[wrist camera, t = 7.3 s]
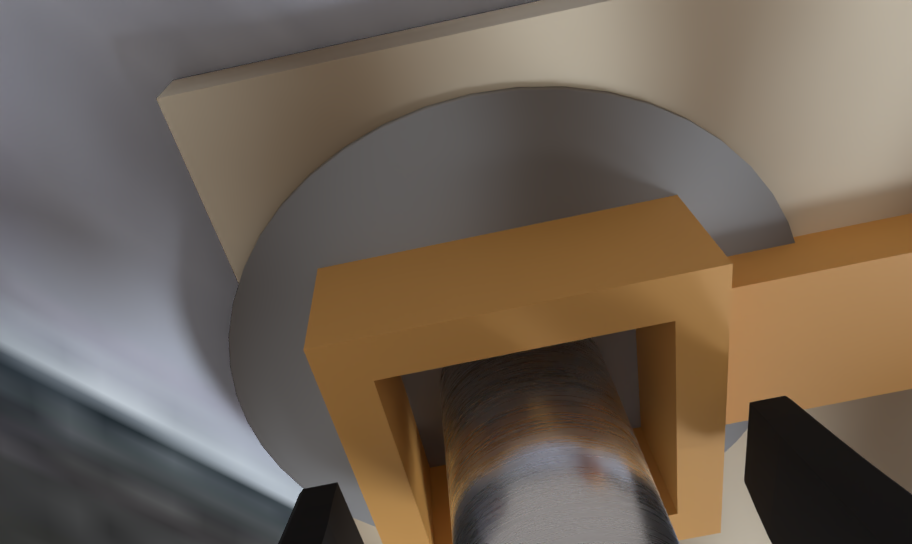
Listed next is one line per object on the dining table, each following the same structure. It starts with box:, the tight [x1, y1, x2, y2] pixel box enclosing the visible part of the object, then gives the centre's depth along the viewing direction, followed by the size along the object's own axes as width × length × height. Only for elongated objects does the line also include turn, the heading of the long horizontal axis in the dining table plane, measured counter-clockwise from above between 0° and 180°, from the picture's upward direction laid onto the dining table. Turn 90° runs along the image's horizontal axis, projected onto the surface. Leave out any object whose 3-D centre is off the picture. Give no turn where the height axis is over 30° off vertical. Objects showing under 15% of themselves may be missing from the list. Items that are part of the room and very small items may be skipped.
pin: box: [440, 338, 680, 544], centre depth 12 cm, size 4×4×6 cm
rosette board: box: [156, 0, 912, 544], centre depth 15 cm, size 17×16×1 cm
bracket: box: [303, 195, 912, 544], centre depth 13 cm, size 14×7×3 cm, turn 101°
